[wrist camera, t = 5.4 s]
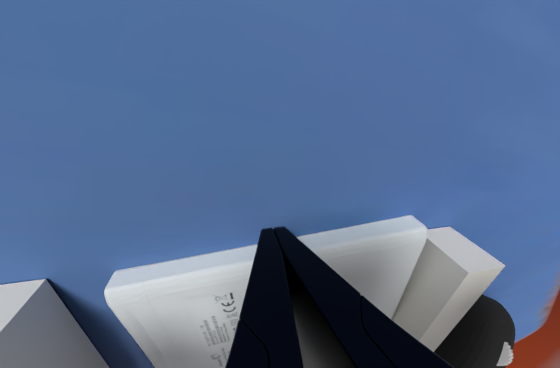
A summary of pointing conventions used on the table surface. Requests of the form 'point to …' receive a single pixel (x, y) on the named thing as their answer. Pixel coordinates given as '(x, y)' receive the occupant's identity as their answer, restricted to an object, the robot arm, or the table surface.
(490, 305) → the computer mouse
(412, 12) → the table surface
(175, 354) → the external hard drive
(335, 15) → the table surface
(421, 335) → the dock
